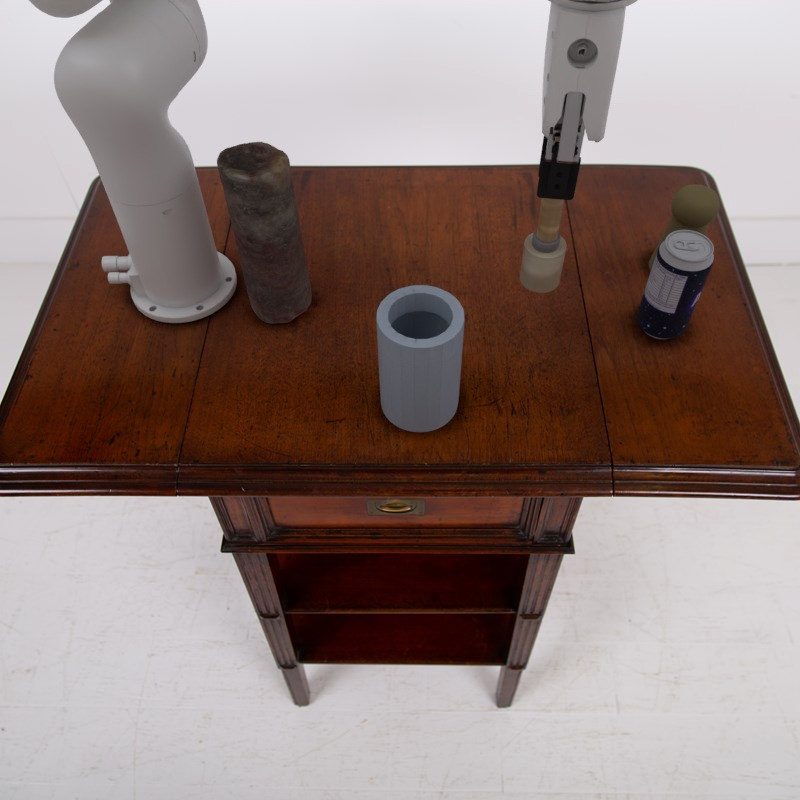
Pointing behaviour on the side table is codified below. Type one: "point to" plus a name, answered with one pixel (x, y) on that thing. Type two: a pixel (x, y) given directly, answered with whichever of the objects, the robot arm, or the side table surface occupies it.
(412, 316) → the grey hollow tube
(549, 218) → the brush
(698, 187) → the olive pawn
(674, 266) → the beverage can
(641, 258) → the side table surface
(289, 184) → the brown rough cylinder
